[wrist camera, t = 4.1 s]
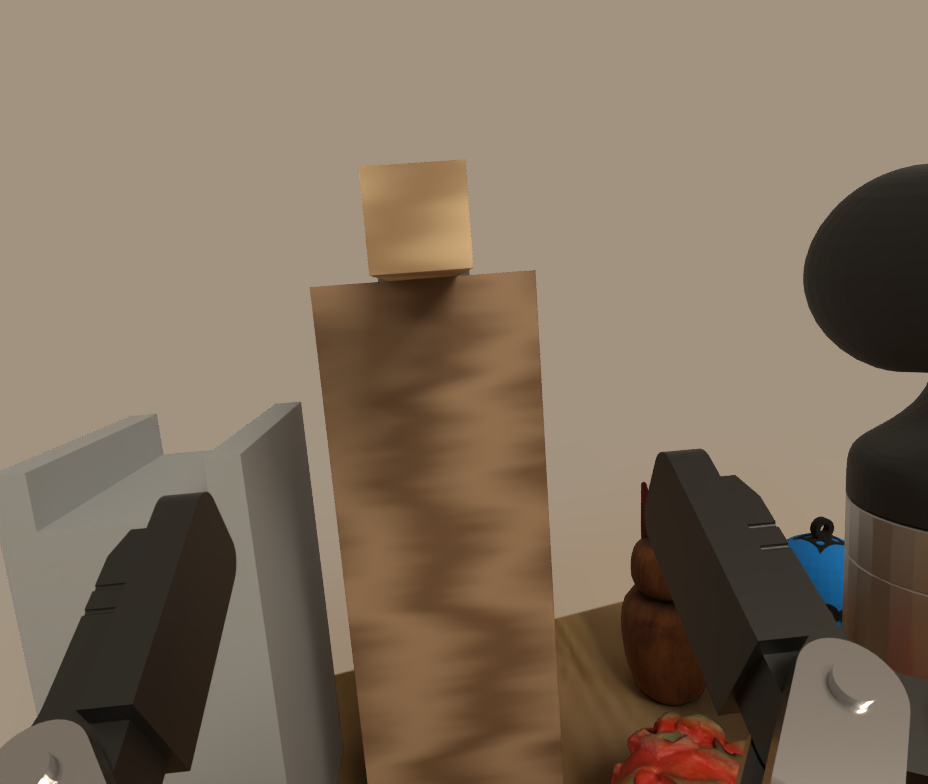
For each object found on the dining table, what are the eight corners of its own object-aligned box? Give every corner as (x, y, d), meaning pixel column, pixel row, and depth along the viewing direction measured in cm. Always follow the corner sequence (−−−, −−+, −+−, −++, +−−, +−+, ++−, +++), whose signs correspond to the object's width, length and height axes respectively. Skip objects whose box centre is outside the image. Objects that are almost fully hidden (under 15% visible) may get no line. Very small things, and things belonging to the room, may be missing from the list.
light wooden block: (465, 279, 37) (460, 212, 37) (507, 265, 18) (498, 120, 17) (383, 285, 37) (377, 217, 36) (334, 278, 17) (318, 131, 17)
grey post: (343, 748, 40) (300, 401, 36) (308, 936, 29) (240, 454, 25) (190, 765, 40) (130, 415, 36) (90, 964, 28) (-14, 476, 24)
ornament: (815, 680, 44) (818, 549, 42) (737, 619, 52) (737, 507, 50) (914, 656, 45) (921, 529, 44) (823, 601, 54) (826, 492, 52)
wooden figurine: (612, 664, 47) (605, 478, 44) (684, 654, 48) (681, 470, 45) (647, 725, 40) (641, 511, 38) (730, 713, 41) (729, 501, 38)
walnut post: (531, 706, 43) (504, 276, 38) (567, 846, 32) (535, 270, 27) (390, 722, 42) (343, 288, 38) (377, 869, 32) (309, 287, 27)
